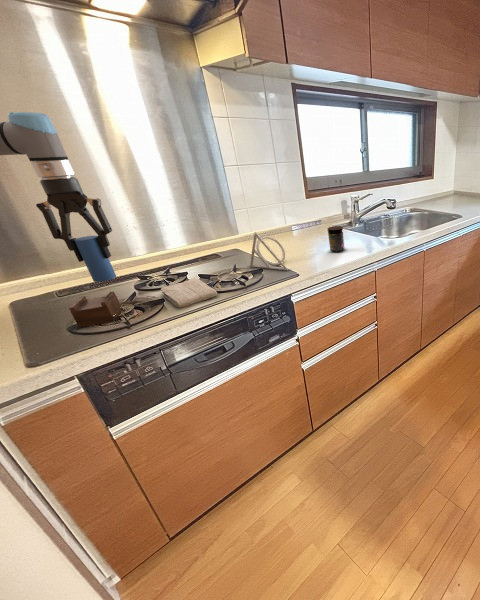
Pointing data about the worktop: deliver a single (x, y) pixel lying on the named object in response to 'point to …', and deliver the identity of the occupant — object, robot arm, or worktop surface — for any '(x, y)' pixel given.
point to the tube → (95, 259)
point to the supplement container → (336, 239)
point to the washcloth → (188, 292)
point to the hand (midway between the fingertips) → (95, 258)
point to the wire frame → (269, 251)
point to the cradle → (95, 310)
